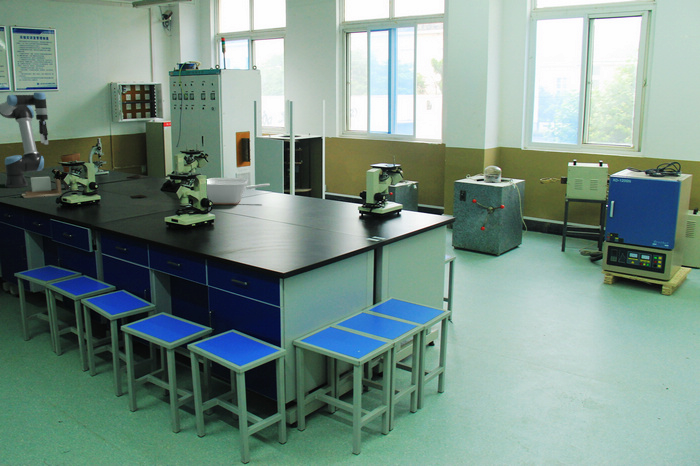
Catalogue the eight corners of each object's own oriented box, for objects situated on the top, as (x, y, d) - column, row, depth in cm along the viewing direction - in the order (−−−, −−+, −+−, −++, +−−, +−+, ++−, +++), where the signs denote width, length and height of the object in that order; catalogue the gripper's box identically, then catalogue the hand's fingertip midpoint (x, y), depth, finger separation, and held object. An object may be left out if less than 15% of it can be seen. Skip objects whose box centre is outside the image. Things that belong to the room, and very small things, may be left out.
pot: (209, 198, 426) (208, 177, 423) (272, 199, 427) (271, 178, 424) (200, 206, 398) (199, 184, 395) (267, 207, 399) (267, 185, 396)
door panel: (32, 194, 425) (30, 177, 422) (50, 193, 431) (49, 176, 428) (33, 195, 422) (31, 178, 419) (51, 193, 429) (50, 177, 426)
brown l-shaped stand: (22, 195, 426) (19, 171, 422) (58, 192, 439) (56, 169, 435) (24, 198, 416) (21, 173, 412) (62, 195, 430) (59, 171, 426)
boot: (94, 185, 473) (91, 151, 467) (99, 186, 467) (96, 152, 460) (61, 188, 456) (57, 153, 450) (65, 190, 450) (61, 154, 443)
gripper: (33, 113, 441) (36, 142, 446) (38, 115, 422) (42, 145, 427) (44, 113, 446) (47, 142, 451) (50, 114, 426) (53, 144, 431)
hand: (44, 143), depth 439 cm, fingers open, 13 cm apart
